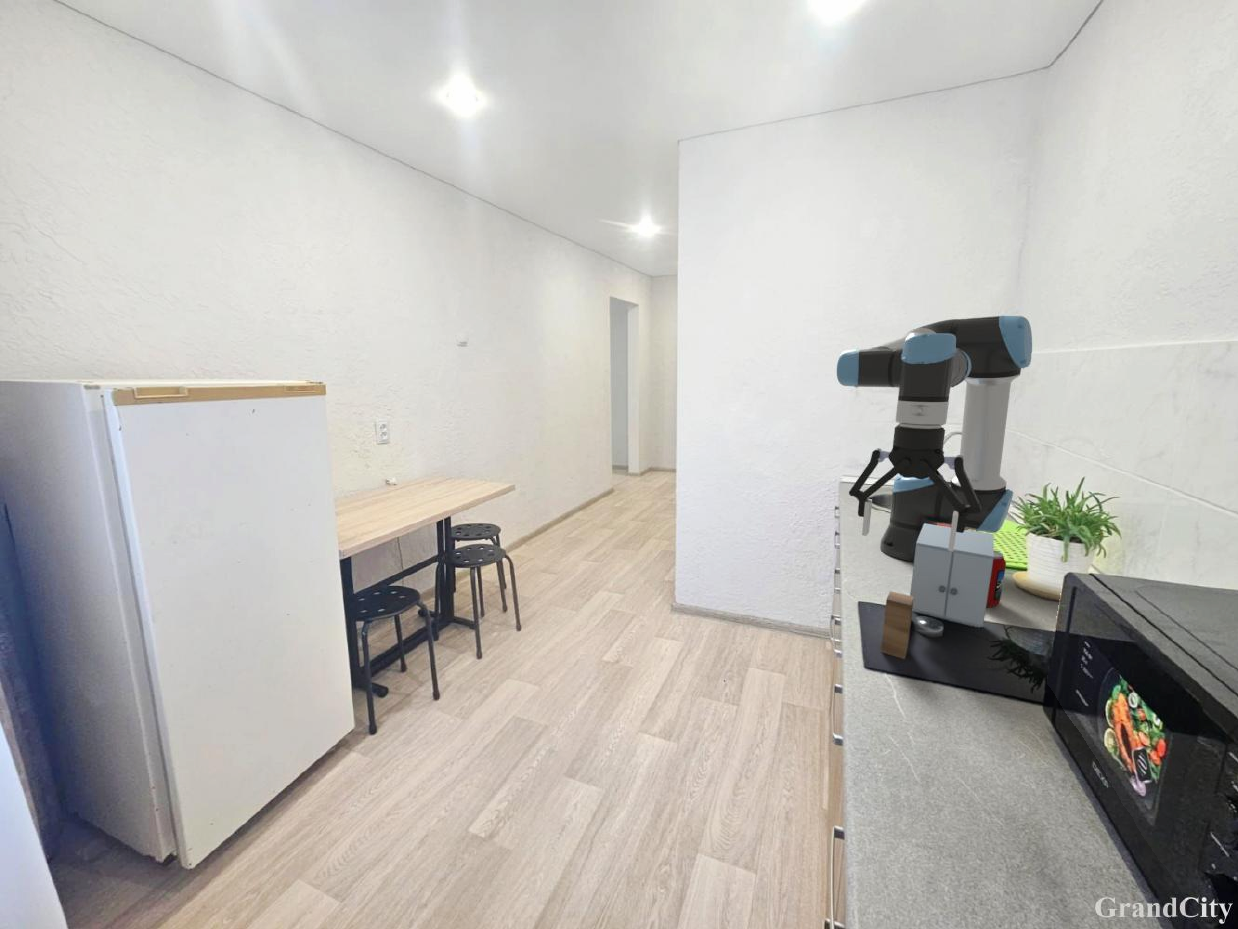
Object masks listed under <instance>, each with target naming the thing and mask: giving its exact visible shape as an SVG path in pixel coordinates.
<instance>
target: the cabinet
mask: <svg viewBox="0 0 1238 929" xmlns="http://www.w3.org/2000/svg"><path fill="white" fill-rule="evenodd" d="M950 532H951V526H950V527H949V526H944V525H938V524H937V525H932V524H926V523H924V525H923V527H922V530H921V532H920V535H919V537H918V540H917V542H916V550H915V558H914V561H913V566H912V567H913V570H912V577H911V585H910V586H911V587H910V594H909V596H913V597H914V601H913V609H912V613H913V612H914V613H917V614H918V613H919V614H923V615H926V616H928V617H929V616H931V617H932V618H937V619H938V618H939V619H942V620H946V621H949V622H954V623H957V624H962V625H966V626H970V627H973V626H974V628H977V627H978V628H977V629H980V628H983V627H984V621H985V616H986V609H987V607H986V604H987V597H988V591H989V584H990V578H991V571H992V565H993V558H994V550H995V542H994V538H995V536H994V533H989V532H983V531H976V530H971V529H968V530H967V529H965V531H964V532H963V533H959V532H956V537H955V545H954V550H953V552H952V551H948V547H949V540H950Z"/></svg>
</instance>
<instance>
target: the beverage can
mask: <svg viewBox="0 0 1238 929" xmlns="http://www.w3.org/2000/svg"><path fill="white" fill-rule="evenodd" d="M1006 566H1007V562H1006V559H1005V558H1004V554H1003V553H1002V552H1000V551H997V550H995V549H994V558H993V565H992V571H991V578H990V584H989V591H988V597H987V604H986V608H990V607H994V606H998V605H999V604H1000V603H1001V597H1002V592H1003V585H1004V578H1005V572H1006Z"/></svg>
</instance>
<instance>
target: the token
mask: <svg viewBox="0 0 1238 929" xmlns="http://www.w3.org/2000/svg"><path fill="white" fill-rule="evenodd" d="M913 625H914V626H913V629H914V630H915V632H917V633H919V634H920V635H923V636H926V637H929V638H939V637H942V636H943V635H944V634H943V632H944V628H945V627H944V623H943V622H942V621H941V620H938V619H936V618H935V617H932V616H931V617H929V616H923V615H922V616H921V615H920V616H916V617H915V619H914V624H913Z"/></svg>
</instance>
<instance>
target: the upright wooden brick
mask: <svg viewBox="0 0 1238 929" xmlns="http://www.w3.org/2000/svg"><path fill="white" fill-rule="evenodd" d="M885 600H886V601H885V610H884V611H885V612H884V619H883V621H884V622H883V628H882V631H883V632H882V637H881V638H882V639H881V648H880V652H881V653H884V654H886V655H889V656H890V655H891V656H893V657H896V658H899V659H903V660H905V659H906V656H907V653H908V649H909V641H910V635H911V634H910V632H911V625H912V617H913V610H912V609H913V601H914V597H913V596H910V595H907V594H904V593H900V592H895V591H889V592H888V594H887V597H886V599H885Z"/></svg>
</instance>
